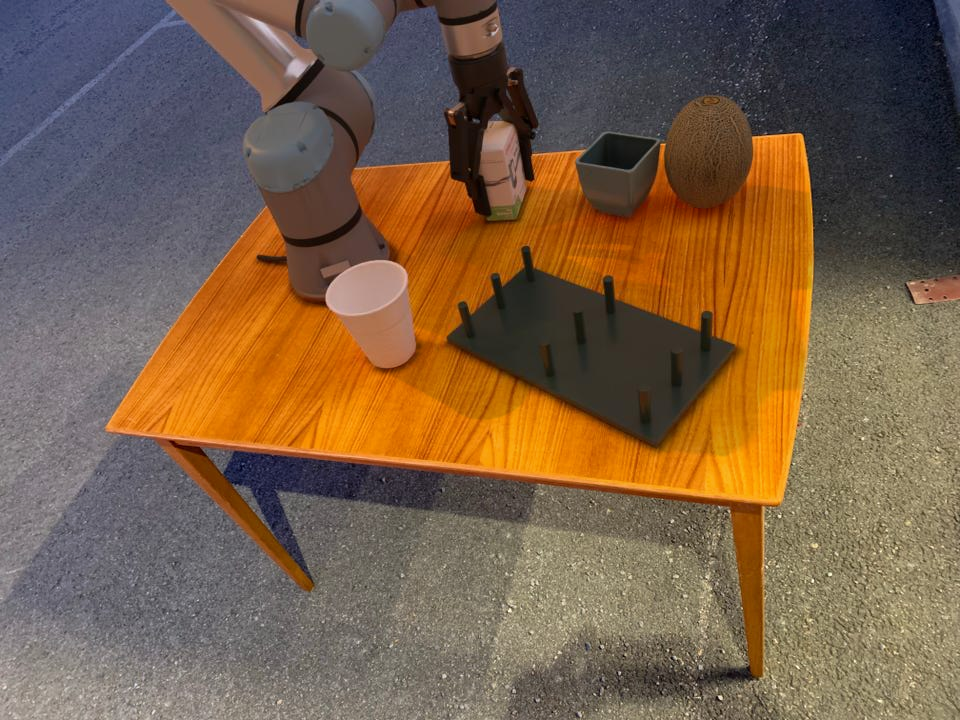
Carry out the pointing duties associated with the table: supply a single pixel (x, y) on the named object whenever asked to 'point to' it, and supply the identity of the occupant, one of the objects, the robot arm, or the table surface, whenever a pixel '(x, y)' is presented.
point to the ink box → (502, 170)
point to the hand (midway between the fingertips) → (505, 195)
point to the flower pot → (618, 172)
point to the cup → (375, 310)
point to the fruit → (708, 151)
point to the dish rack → (593, 350)
